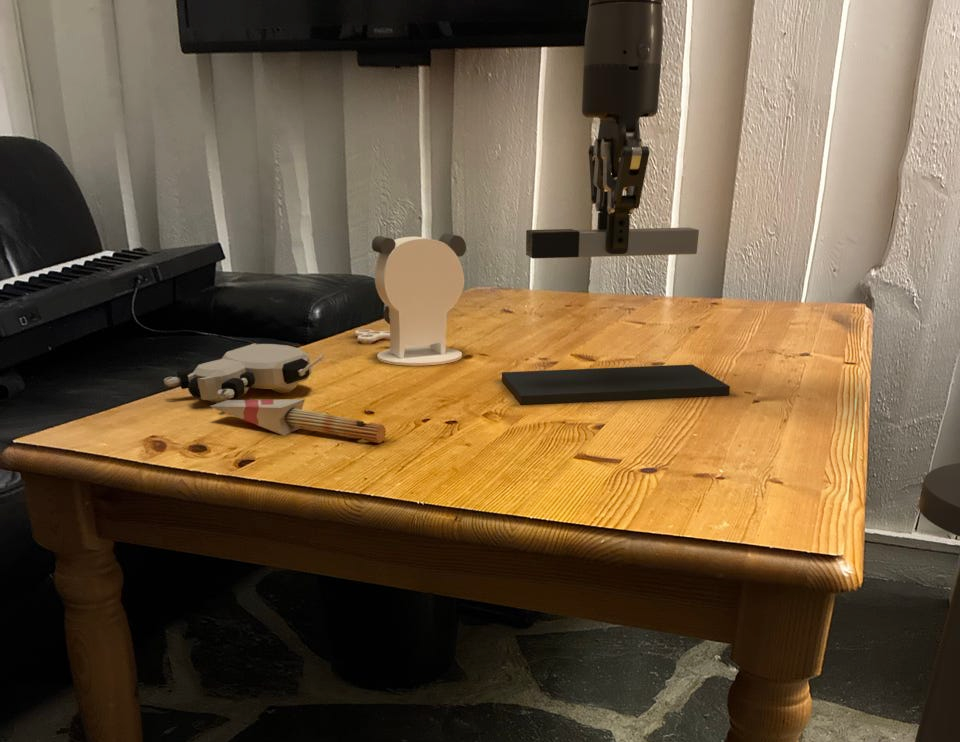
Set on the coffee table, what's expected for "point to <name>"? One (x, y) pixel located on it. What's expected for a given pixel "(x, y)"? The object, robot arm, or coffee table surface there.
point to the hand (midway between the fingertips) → (611, 250)
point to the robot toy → (246, 372)
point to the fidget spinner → (371, 335)
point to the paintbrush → (299, 418)
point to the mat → (612, 384)
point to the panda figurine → (419, 296)
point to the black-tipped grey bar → (594, 242)
